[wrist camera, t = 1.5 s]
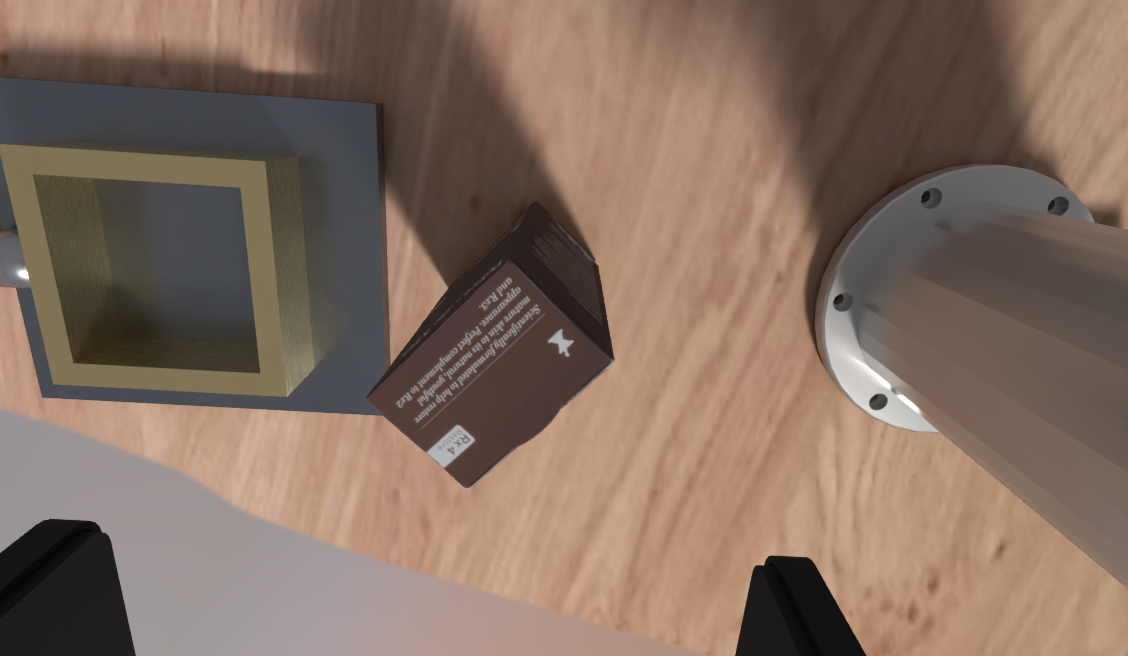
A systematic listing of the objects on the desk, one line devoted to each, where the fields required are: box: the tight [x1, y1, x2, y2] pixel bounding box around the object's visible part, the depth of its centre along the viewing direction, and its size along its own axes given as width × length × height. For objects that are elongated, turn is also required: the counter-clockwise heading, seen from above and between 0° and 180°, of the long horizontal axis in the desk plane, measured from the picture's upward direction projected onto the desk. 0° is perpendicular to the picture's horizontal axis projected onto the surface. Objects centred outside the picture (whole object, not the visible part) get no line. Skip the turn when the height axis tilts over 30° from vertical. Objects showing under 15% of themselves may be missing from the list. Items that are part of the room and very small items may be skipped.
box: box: [366, 202, 615, 488], centre depth 22 cm, size 6×4×12 cm
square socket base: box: [0, 77, 390, 416], centre depth 26 cm, size 16×14×4 cm
